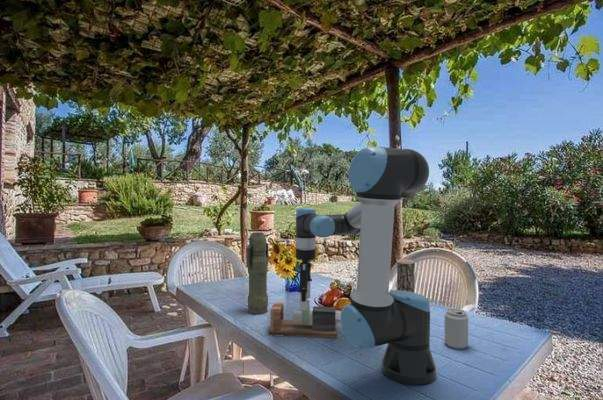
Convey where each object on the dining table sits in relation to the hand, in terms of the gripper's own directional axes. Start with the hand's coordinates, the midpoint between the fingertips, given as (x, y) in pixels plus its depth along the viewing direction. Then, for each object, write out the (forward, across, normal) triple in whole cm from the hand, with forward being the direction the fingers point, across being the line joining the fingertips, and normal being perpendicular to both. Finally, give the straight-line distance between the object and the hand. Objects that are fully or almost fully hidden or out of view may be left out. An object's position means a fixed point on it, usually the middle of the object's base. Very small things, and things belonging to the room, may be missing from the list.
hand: (305, 303), depth 135 cm
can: (+10, +8, +53) cm, 55 cm away
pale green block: (+7, 0, +3) cm, 8 cm away
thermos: (+11, -20, -23) cm, 32 cm away
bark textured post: (+10, -12, +40) cm, 43 cm away
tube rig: (+10, 0, 0) cm, 10 cm away
